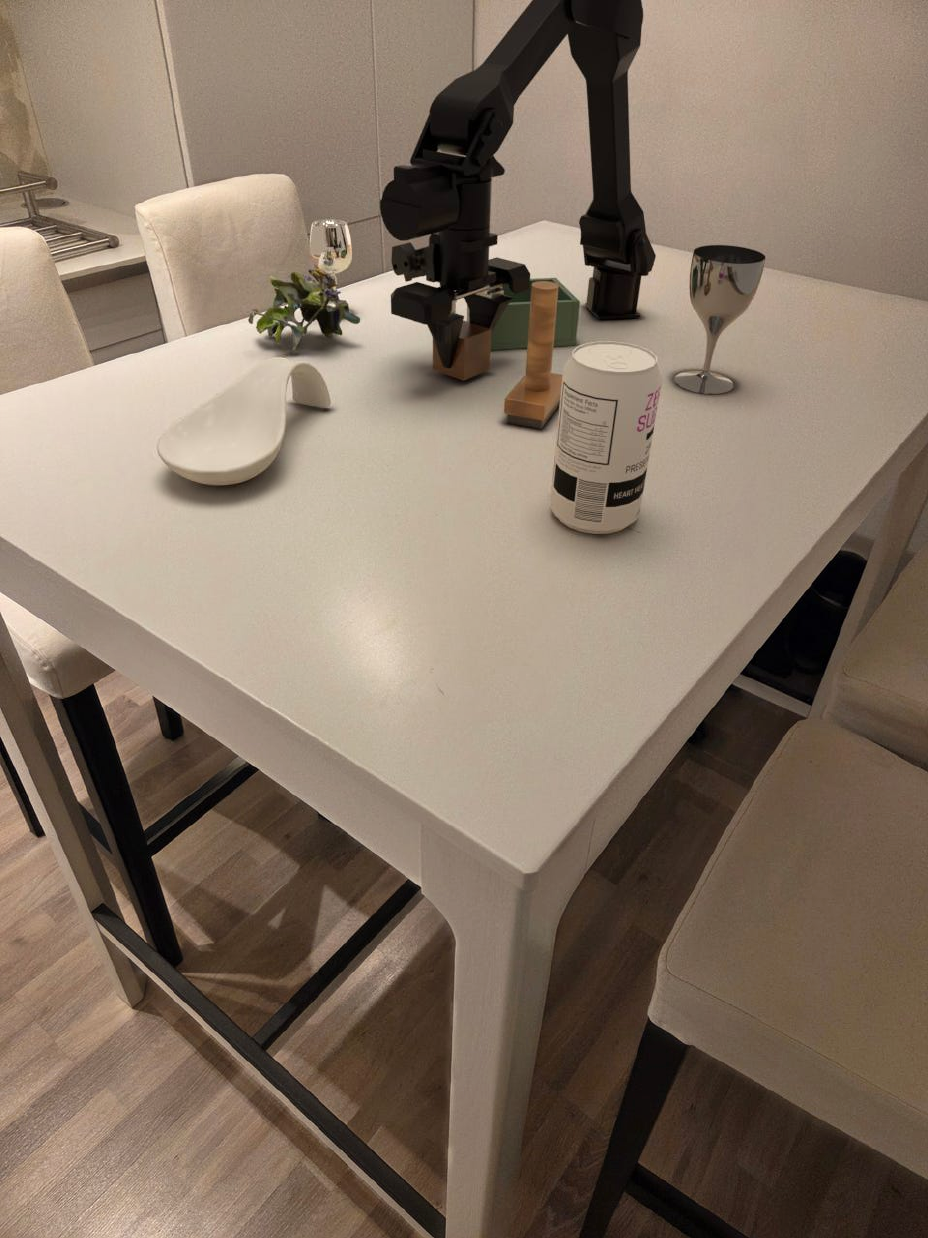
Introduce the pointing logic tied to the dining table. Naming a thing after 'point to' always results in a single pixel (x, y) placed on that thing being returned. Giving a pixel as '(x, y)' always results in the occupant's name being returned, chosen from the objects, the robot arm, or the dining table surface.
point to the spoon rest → (240, 424)
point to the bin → (516, 319)
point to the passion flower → (305, 306)
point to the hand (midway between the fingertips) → (461, 361)
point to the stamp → (537, 364)
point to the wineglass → (330, 246)
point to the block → (468, 353)
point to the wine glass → (719, 302)
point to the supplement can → (604, 435)
